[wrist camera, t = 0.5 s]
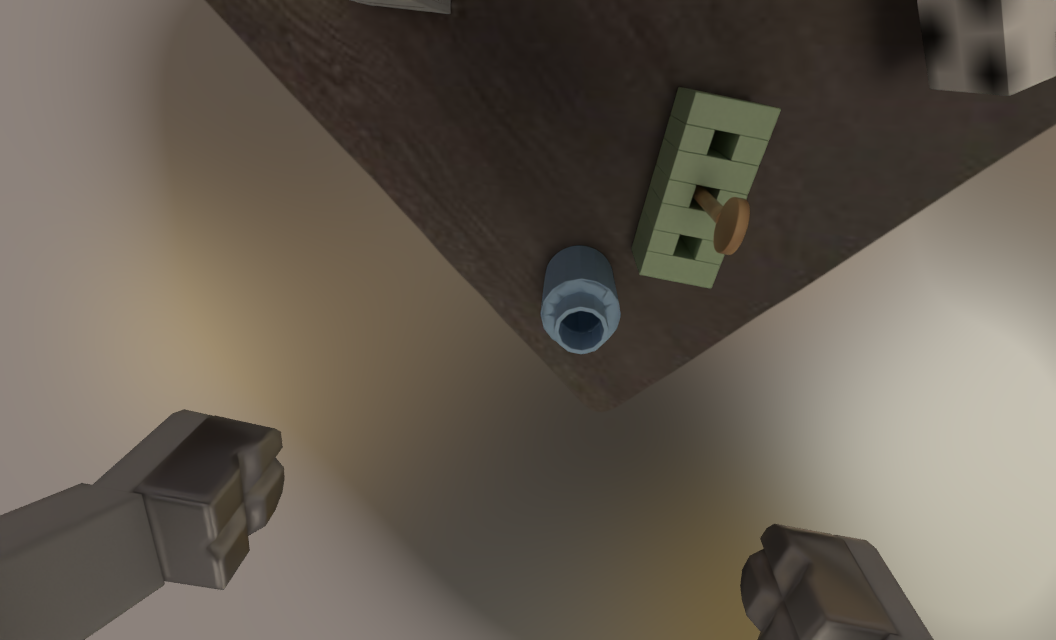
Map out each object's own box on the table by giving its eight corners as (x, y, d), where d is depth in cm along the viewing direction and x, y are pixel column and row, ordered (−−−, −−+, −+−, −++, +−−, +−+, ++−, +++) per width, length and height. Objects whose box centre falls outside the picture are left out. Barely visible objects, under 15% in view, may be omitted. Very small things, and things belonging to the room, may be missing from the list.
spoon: (687, 158, 47) (741, 204, 33) (700, 161, 47) (759, 208, 33) (674, 199, 49) (719, 260, 35) (686, 202, 49) (736, 263, 35)
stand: (678, 86, 45) (696, 91, 38) (752, 101, 45) (781, 108, 39) (630, 249, 52) (639, 274, 46) (694, 261, 52) (711, 289, 46)
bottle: (552, 239, 52) (548, 285, 42) (619, 252, 52) (633, 302, 42) (539, 300, 55) (532, 357, 45) (603, 312, 56) (611, 372, 45)
